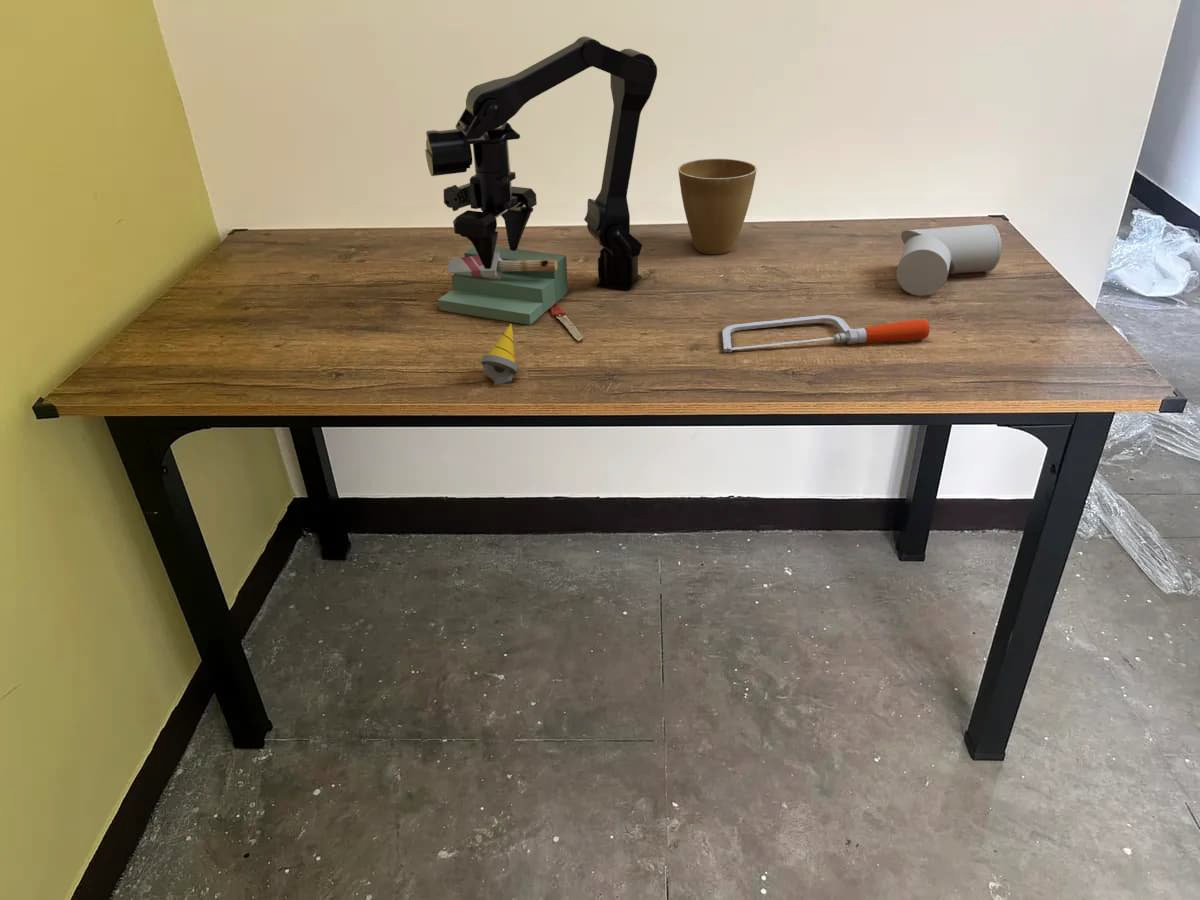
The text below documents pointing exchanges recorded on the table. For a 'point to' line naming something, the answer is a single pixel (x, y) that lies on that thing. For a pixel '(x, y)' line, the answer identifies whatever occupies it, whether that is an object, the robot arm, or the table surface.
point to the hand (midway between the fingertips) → (500, 259)
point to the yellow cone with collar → (501, 359)
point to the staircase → (508, 289)
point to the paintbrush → (497, 266)
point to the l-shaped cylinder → (945, 255)
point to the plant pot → (716, 201)
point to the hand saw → (852, 336)
